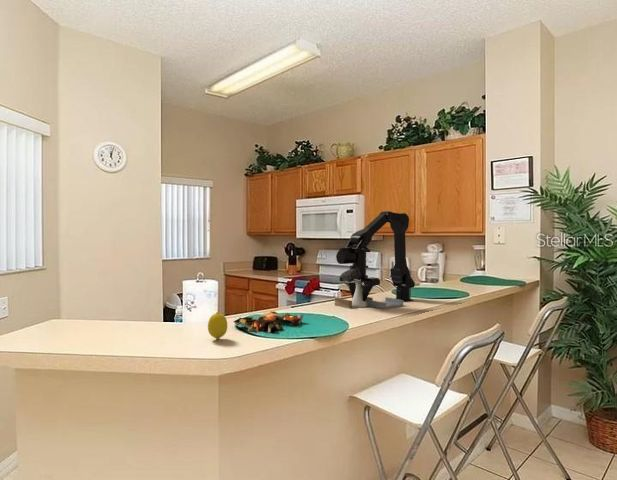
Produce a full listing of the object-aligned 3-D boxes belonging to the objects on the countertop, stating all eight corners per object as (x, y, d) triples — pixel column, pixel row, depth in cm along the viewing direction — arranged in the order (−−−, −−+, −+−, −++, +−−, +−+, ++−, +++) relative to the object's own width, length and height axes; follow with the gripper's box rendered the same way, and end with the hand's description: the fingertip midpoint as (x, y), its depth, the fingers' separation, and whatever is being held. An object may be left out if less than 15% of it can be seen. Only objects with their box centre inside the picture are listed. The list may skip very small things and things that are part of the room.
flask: (367, 304, 172) (367, 281, 172) (367, 308, 165) (368, 283, 165) (350, 304, 173) (350, 281, 173) (350, 307, 166) (350, 283, 165)
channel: (357, 301, 179) (357, 295, 179) (372, 304, 172) (372, 297, 172) (334, 305, 170) (334, 298, 170) (349, 308, 163) (349, 301, 163)
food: (270, 337, 121) (270, 325, 121) (225, 329, 131) (225, 318, 131) (310, 323, 139) (310, 313, 139) (267, 317, 149) (267, 307, 149)
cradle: (386, 302, 177) (386, 297, 177) (403, 306, 170) (403, 300, 170) (368, 305, 169) (368, 299, 169) (384, 309, 162) (384, 303, 162)
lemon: (219, 336, 120) (219, 309, 120) (231, 339, 116) (231, 312, 116) (203, 339, 116) (203, 312, 116) (215, 343, 112) (215, 315, 112)
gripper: (330, 262, 171) (329, 298, 171) (361, 265, 156) (361, 305, 156) (349, 261, 178) (348, 296, 178) (381, 264, 163) (380, 302, 163)
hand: (358, 300), depth 169 cm, fingers open, 6 cm apart
